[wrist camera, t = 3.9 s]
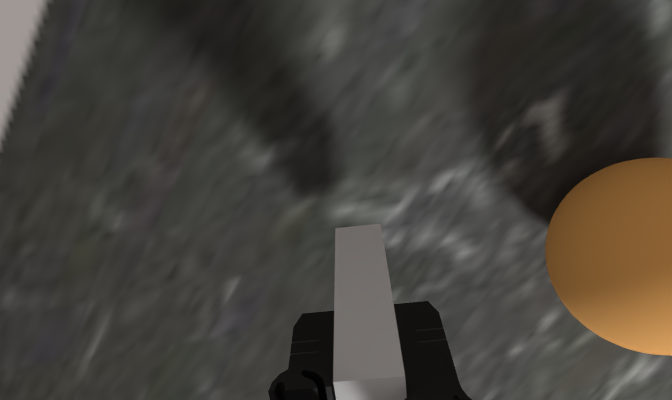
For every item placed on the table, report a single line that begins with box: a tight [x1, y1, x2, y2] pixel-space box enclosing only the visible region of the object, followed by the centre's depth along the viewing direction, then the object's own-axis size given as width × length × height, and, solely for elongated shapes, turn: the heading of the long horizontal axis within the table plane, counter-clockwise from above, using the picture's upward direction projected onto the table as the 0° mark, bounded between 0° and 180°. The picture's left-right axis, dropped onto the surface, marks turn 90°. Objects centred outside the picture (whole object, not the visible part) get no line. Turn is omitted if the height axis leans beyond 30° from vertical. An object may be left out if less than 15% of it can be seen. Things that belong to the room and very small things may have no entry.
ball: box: [545, 158, 672, 355], centre depth 15 cm, size 6×6×6 cm
